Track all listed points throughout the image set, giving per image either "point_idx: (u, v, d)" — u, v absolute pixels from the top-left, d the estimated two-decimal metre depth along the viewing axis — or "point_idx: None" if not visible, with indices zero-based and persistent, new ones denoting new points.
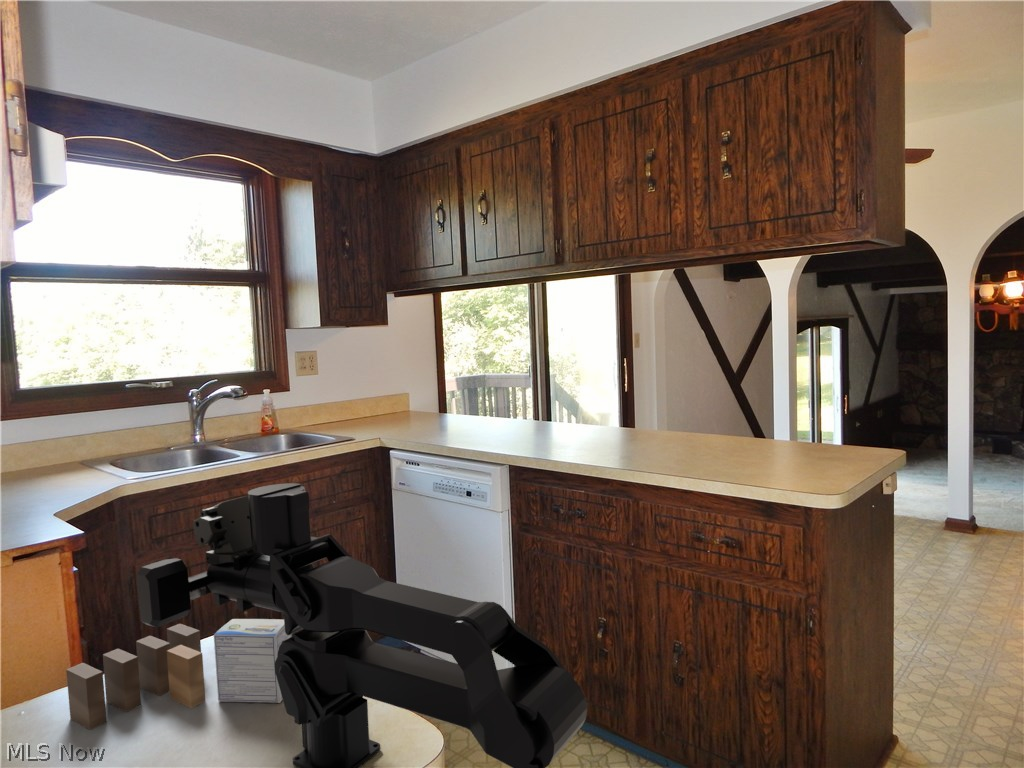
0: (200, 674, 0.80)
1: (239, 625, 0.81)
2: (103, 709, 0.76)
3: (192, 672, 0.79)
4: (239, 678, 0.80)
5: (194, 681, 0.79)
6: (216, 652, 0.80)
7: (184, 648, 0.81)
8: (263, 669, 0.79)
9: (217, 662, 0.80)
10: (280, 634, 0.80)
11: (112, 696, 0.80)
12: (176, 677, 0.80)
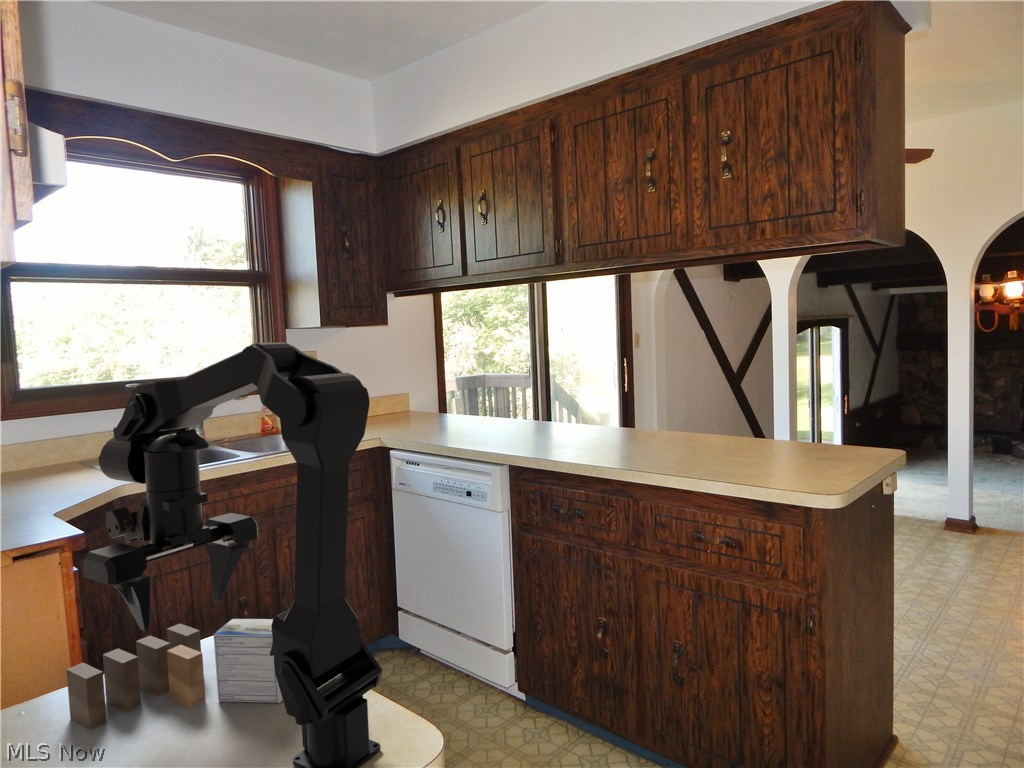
0: (200, 674, 0.80)
1: (239, 625, 0.81)
2: (103, 709, 0.76)
3: (192, 672, 0.79)
4: (239, 678, 0.80)
5: (194, 681, 0.79)
6: (216, 652, 0.80)
7: (184, 648, 0.81)
8: (263, 669, 0.79)
9: (217, 662, 0.80)
10: None
11: (113, 696, 0.80)
12: (176, 677, 0.80)
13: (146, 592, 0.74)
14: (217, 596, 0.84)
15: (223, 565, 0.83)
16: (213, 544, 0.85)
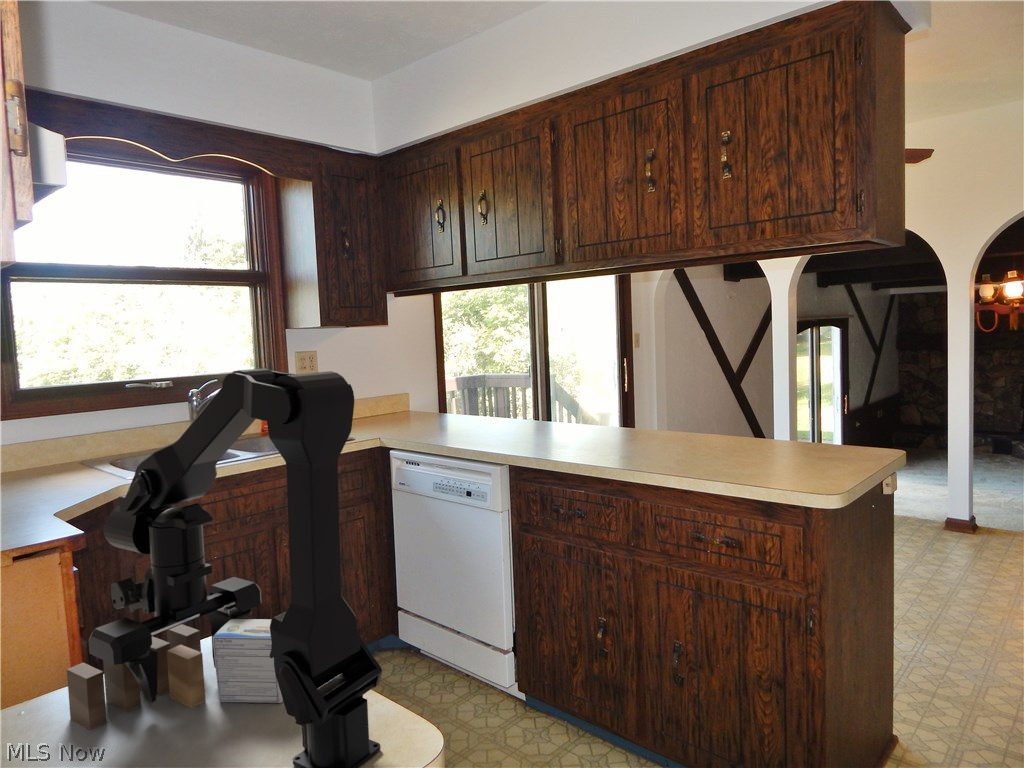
0: (200, 674, 0.80)
1: (238, 626, 0.81)
2: (103, 709, 0.76)
3: (192, 672, 0.79)
4: (240, 679, 0.79)
5: (194, 681, 0.79)
6: (215, 654, 0.79)
7: (184, 648, 0.81)
8: (263, 670, 0.79)
9: (217, 664, 0.79)
10: None
11: (112, 696, 0.80)
12: (176, 677, 0.80)
13: (154, 667, 0.75)
14: None
15: None
16: (215, 611, 0.85)
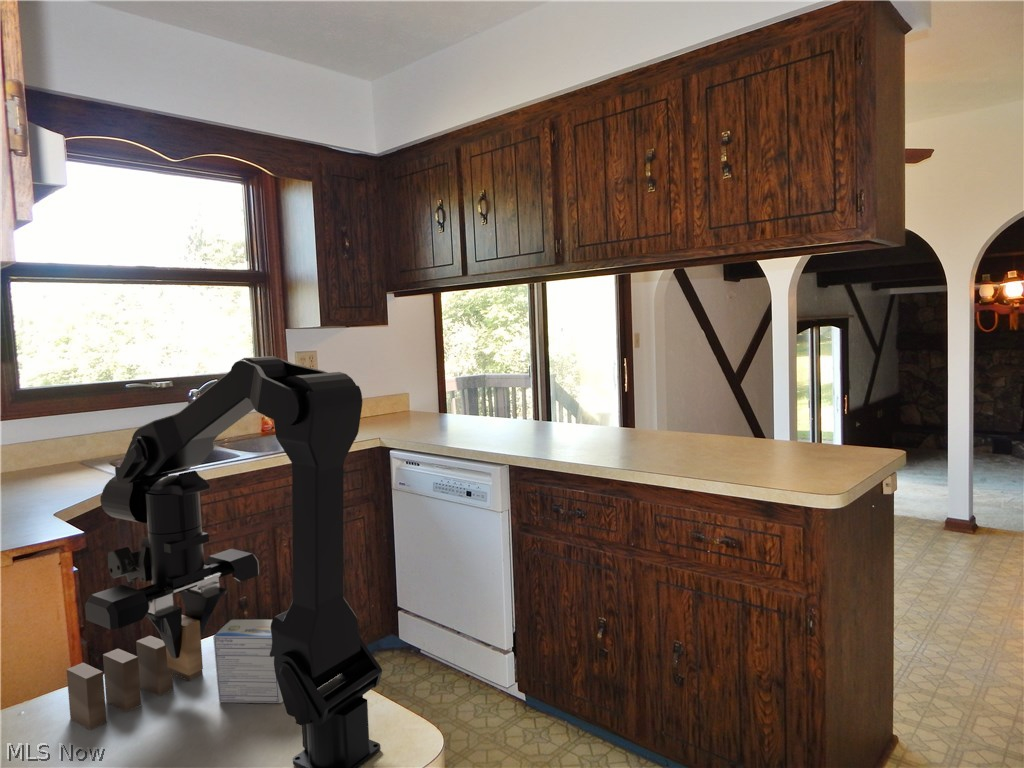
0: (197, 642, 0.80)
1: (239, 626, 0.81)
2: (103, 709, 0.76)
3: (189, 639, 0.79)
4: (240, 679, 0.79)
5: (191, 649, 0.79)
6: (216, 654, 0.79)
7: None
8: (263, 670, 0.79)
9: (217, 663, 0.79)
10: None
11: (112, 696, 0.80)
12: None
13: (178, 622, 0.78)
14: None
15: (198, 613, 0.81)
16: (188, 591, 0.82)
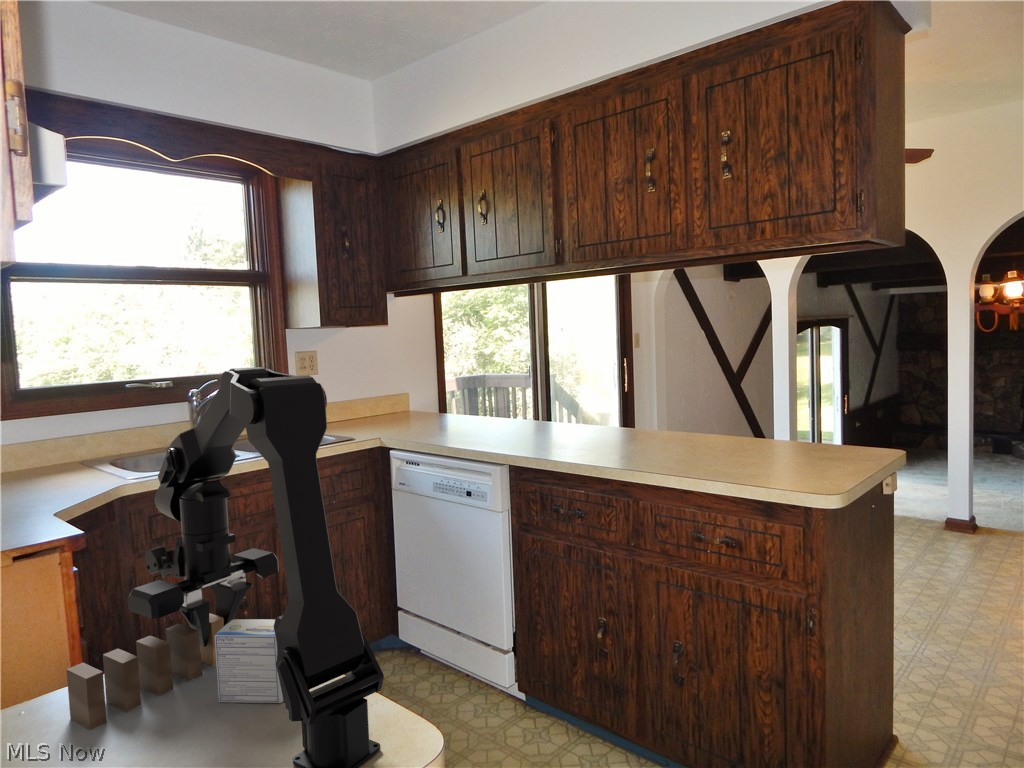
0: None
1: (240, 625, 0.81)
2: (103, 709, 0.76)
3: (214, 634, 0.89)
4: (240, 678, 0.79)
5: None
6: (217, 653, 0.79)
7: None
8: (264, 669, 0.79)
9: (218, 663, 0.80)
10: None
11: (112, 696, 0.80)
12: None
13: (206, 614, 0.87)
14: None
15: (227, 605, 0.91)
16: (218, 585, 0.92)
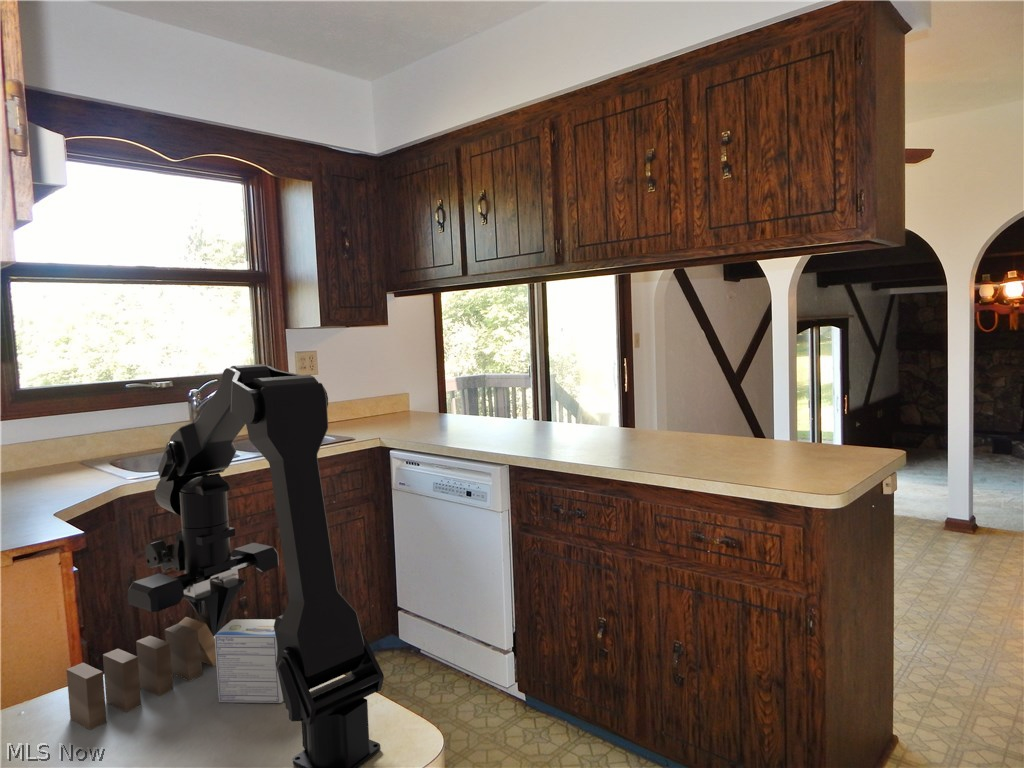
0: (211, 639, 0.89)
1: (240, 625, 0.81)
2: (103, 709, 0.76)
3: (203, 641, 0.88)
4: (240, 678, 0.79)
5: (208, 646, 0.88)
6: (217, 653, 0.79)
7: (189, 620, 0.89)
8: (264, 669, 0.79)
9: (218, 663, 0.80)
10: None
11: (112, 696, 0.80)
12: None
13: (214, 605, 0.88)
14: None
15: (220, 602, 0.90)
16: (210, 582, 0.91)
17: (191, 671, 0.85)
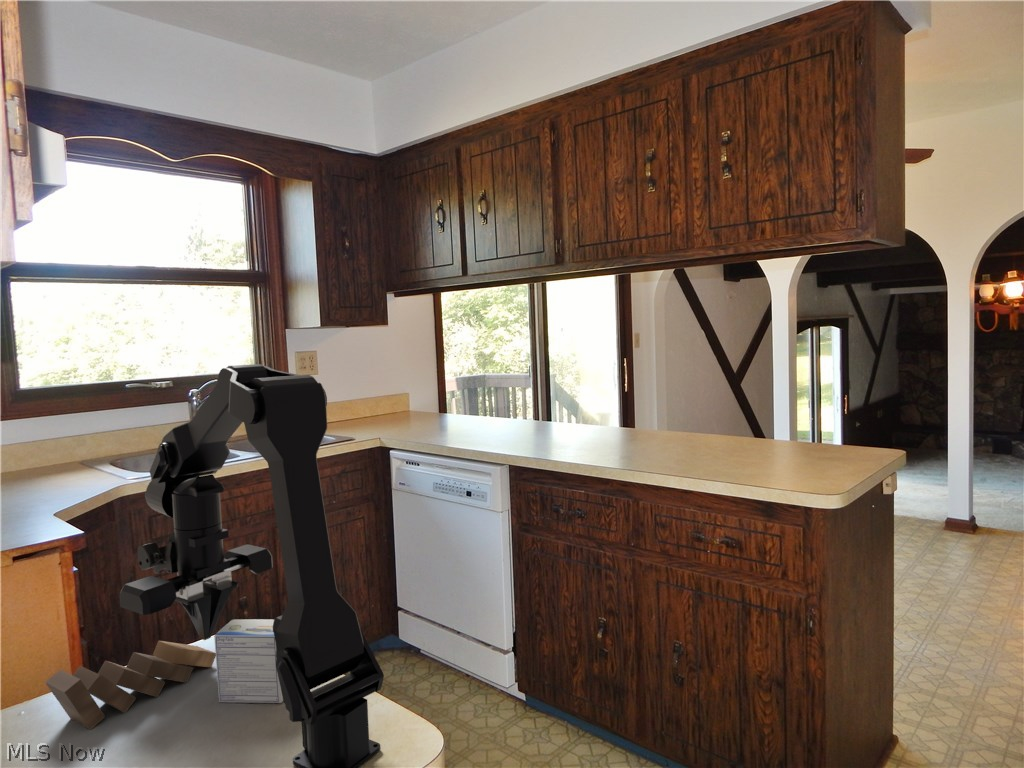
0: (193, 653, 0.87)
1: (240, 625, 0.81)
2: (96, 708, 0.76)
3: (185, 661, 0.86)
4: (240, 678, 0.79)
5: (194, 660, 0.87)
6: (217, 653, 0.79)
7: (163, 646, 0.86)
8: (264, 669, 0.79)
9: (218, 663, 0.80)
10: None
11: (105, 702, 0.79)
12: None
13: (207, 607, 0.87)
14: None
15: (213, 604, 0.89)
16: (203, 584, 0.90)
17: (180, 678, 0.84)
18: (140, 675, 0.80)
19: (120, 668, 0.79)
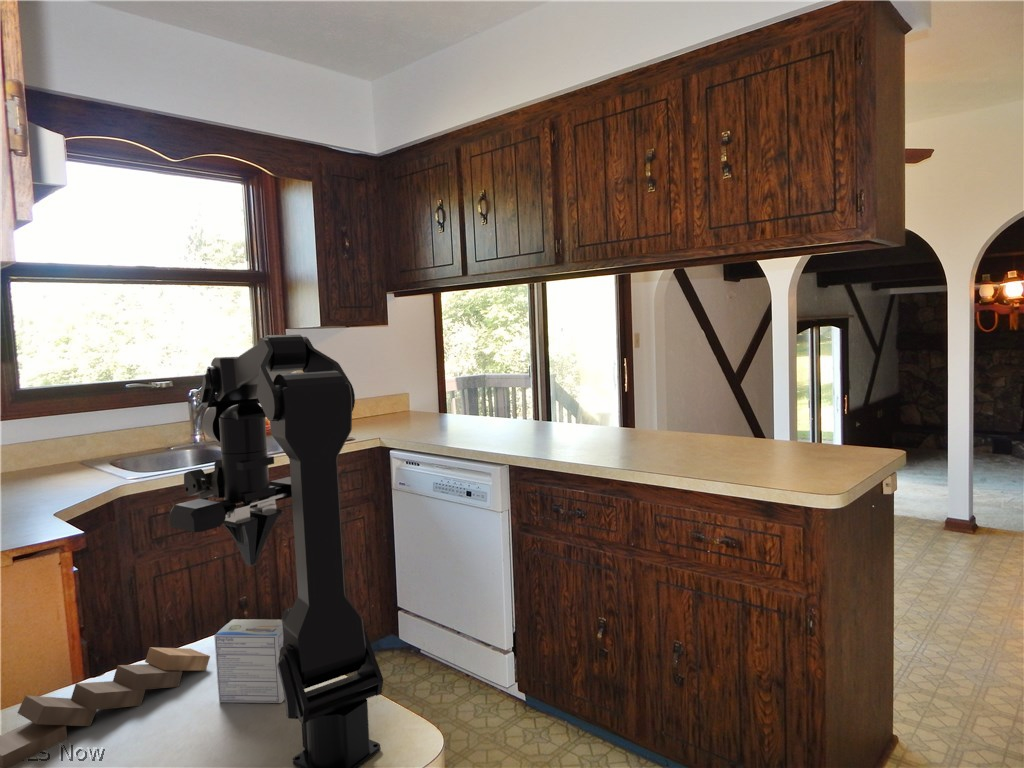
0: (186, 658, 0.86)
1: (240, 625, 0.81)
2: (49, 735, 0.72)
3: (178, 666, 0.85)
4: (240, 678, 0.79)
5: (187, 665, 0.86)
6: (217, 653, 0.79)
7: (154, 652, 0.85)
8: (264, 669, 0.79)
9: (218, 663, 0.80)
10: (281, 634, 0.80)
11: None
12: None
13: (254, 531, 0.88)
14: None
15: (258, 530, 0.89)
16: None
17: (171, 684, 0.83)
18: (115, 693, 0.77)
19: (91, 692, 0.76)
